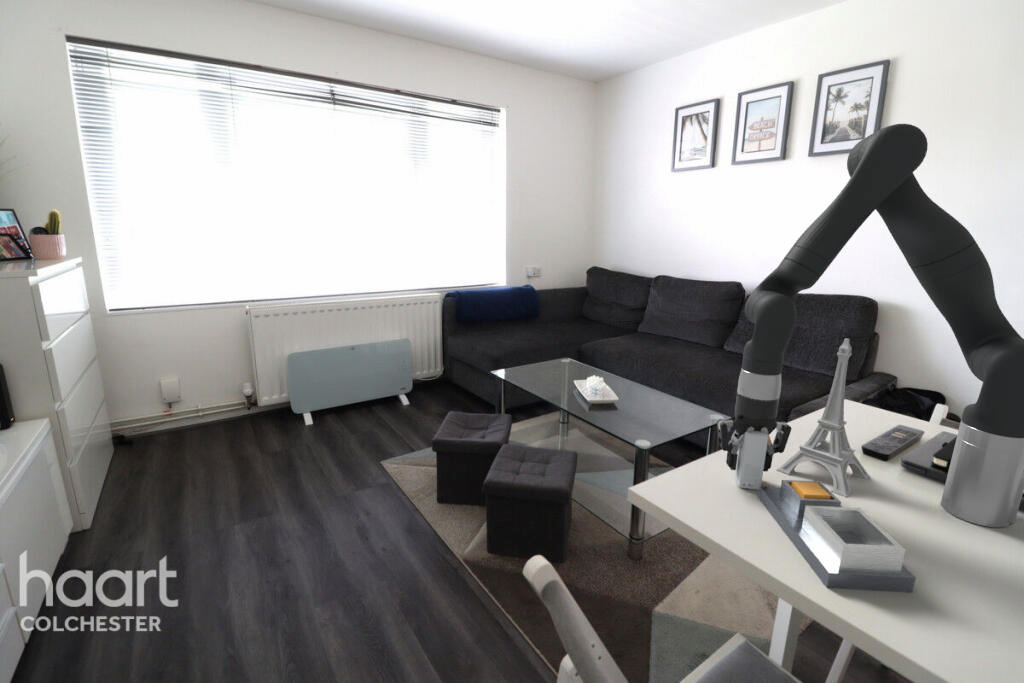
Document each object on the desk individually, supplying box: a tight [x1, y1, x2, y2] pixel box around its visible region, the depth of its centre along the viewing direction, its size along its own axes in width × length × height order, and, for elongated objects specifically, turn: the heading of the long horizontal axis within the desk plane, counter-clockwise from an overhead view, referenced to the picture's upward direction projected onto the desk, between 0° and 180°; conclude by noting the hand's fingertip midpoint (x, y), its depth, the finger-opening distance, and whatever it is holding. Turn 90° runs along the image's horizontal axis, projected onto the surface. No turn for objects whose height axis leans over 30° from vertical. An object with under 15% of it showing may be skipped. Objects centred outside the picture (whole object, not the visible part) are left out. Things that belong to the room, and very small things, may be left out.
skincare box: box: [732, 431, 768, 491], centre depth 99 cm, size 6×4×12 cm
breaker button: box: [791, 481, 830, 500], centre depth 87 cm, size 4×4×3 cm
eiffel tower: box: [776, 338, 871, 498], centre depth 100 cm, size 13×13×30 cm
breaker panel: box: [757, 479, 917, 593], centre depth 82 cm, size 12×24×6 cm, turn 176°
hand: (747, 468), depth 100 cm, fingers open, 5 cm apart
